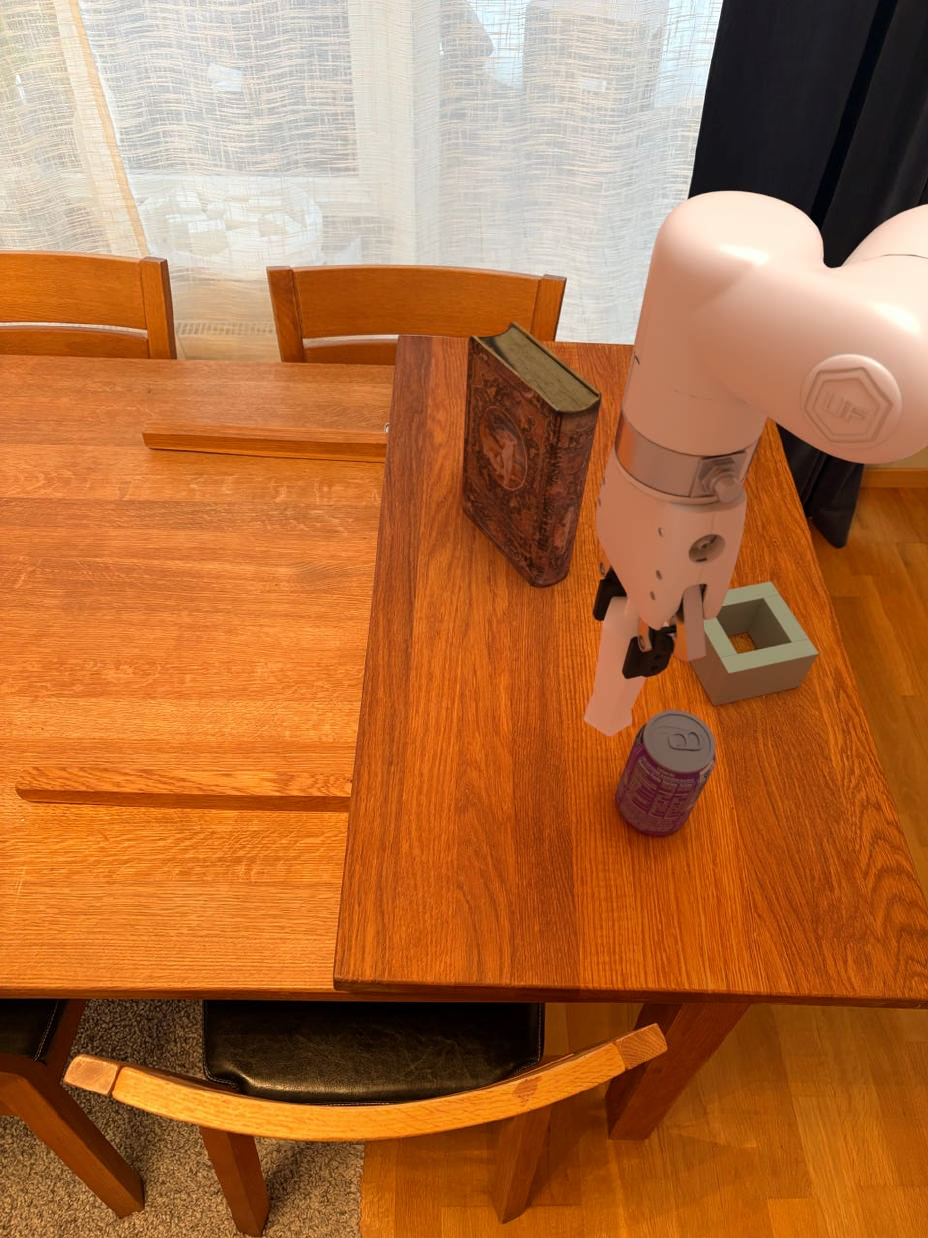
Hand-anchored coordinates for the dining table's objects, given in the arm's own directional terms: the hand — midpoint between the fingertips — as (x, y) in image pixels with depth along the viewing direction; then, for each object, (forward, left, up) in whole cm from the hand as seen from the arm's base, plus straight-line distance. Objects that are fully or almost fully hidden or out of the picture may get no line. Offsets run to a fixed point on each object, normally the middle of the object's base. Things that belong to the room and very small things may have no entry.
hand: (628, 640), depth 61 cm
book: (+36, -5, -27) cm, 45 cm away
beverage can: (-1, -7, -27) cm, 28 cm away
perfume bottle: (0, 0, -10) cm, 10 cm away
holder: (+13, -23, -27) cm, 38 cm away
